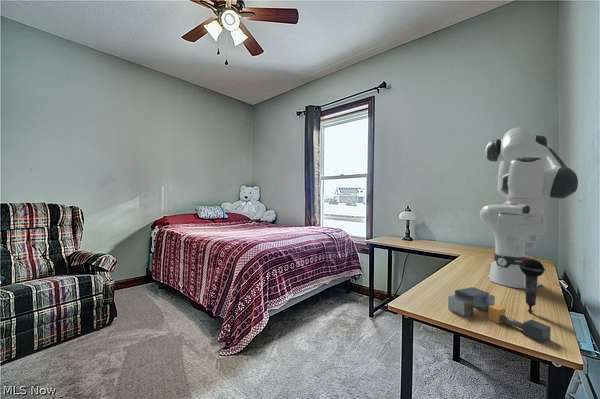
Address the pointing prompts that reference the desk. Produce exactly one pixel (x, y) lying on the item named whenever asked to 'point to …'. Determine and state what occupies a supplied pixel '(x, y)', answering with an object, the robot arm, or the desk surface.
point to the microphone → (531, 279)
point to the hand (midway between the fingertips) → (522, 249)
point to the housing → (470, 301)
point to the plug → (521, 324)
